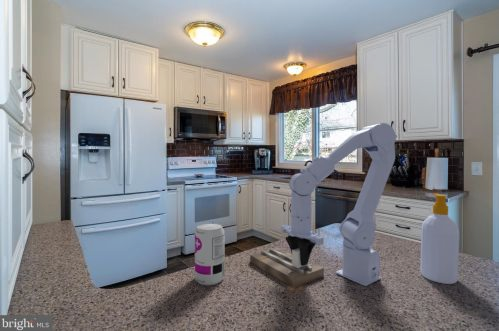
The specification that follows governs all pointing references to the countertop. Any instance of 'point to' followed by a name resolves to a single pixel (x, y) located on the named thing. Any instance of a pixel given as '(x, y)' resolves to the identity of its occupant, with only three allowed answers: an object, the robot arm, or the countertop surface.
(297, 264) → the block
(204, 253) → the supplement can
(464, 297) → the countertop surface
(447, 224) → the soap bottle
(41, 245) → the countertop surface
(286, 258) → the tan slider track board
